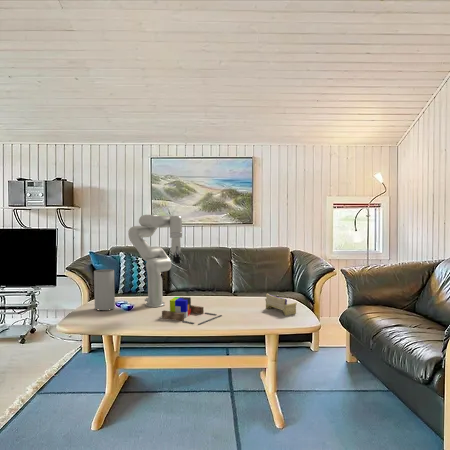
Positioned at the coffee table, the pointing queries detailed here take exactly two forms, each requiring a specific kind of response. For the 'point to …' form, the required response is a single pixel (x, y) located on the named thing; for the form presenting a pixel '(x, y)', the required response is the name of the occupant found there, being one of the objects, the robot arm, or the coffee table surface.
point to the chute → (180, 315)
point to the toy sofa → (280, 304)
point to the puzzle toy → (181, 305)
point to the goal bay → (204, 321)
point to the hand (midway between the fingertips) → (176, 262)
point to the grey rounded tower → (104, 289)
